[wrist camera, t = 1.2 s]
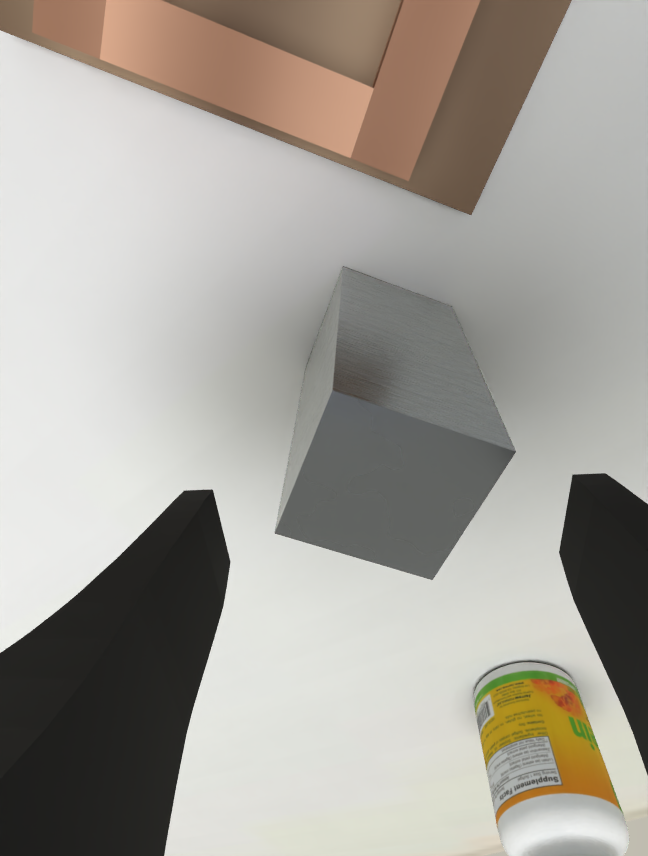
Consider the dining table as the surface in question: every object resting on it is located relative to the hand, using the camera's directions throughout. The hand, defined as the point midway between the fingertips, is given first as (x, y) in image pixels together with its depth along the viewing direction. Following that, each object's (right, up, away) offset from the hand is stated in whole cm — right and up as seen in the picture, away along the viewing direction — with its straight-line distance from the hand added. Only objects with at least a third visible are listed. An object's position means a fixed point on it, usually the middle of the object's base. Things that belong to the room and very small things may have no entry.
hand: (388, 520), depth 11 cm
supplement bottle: (+9, -12, +19) cm, 24 cm away
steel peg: (+1, +5, +8) cm, 10 cm away
